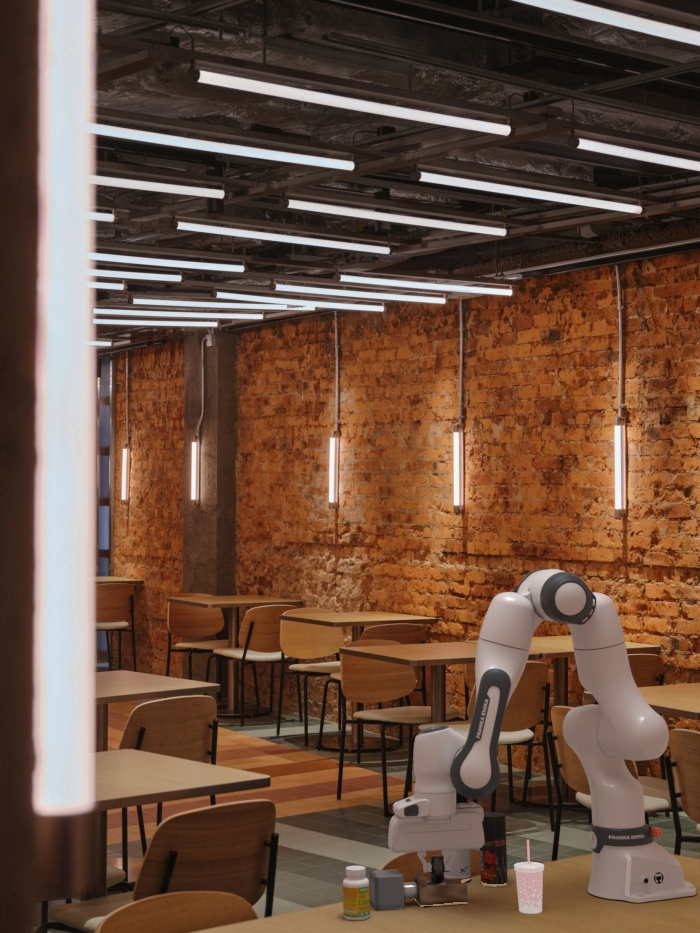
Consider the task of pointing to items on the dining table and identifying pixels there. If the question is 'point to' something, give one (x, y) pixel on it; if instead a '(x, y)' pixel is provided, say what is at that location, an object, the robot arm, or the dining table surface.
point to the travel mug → (459, 855)
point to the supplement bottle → (356, 894)
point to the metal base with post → (436, 879)
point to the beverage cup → (529, 885)
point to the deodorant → (494, 849)
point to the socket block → (386, 889)
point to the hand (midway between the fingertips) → (437, 872)
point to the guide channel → (440, 891)
